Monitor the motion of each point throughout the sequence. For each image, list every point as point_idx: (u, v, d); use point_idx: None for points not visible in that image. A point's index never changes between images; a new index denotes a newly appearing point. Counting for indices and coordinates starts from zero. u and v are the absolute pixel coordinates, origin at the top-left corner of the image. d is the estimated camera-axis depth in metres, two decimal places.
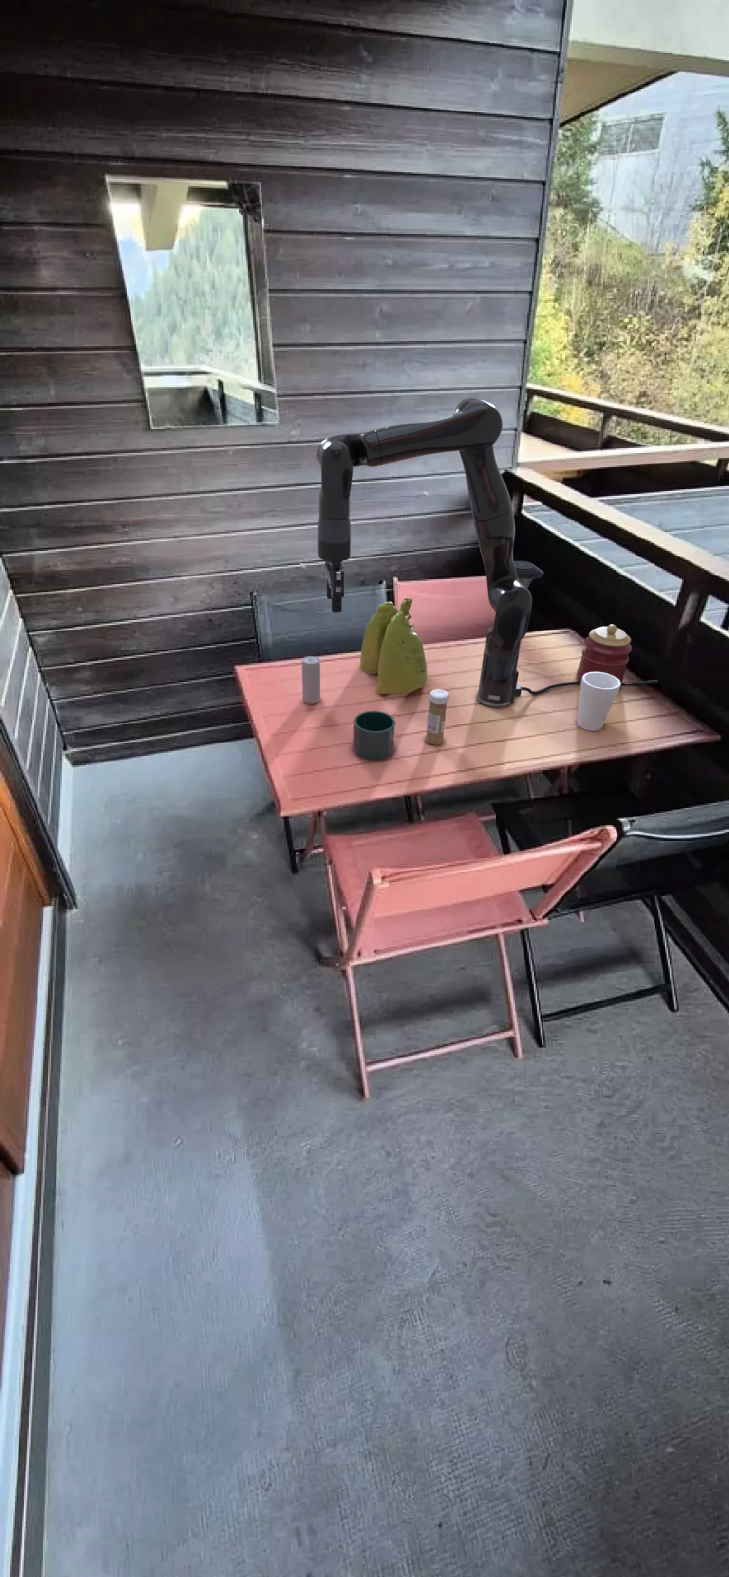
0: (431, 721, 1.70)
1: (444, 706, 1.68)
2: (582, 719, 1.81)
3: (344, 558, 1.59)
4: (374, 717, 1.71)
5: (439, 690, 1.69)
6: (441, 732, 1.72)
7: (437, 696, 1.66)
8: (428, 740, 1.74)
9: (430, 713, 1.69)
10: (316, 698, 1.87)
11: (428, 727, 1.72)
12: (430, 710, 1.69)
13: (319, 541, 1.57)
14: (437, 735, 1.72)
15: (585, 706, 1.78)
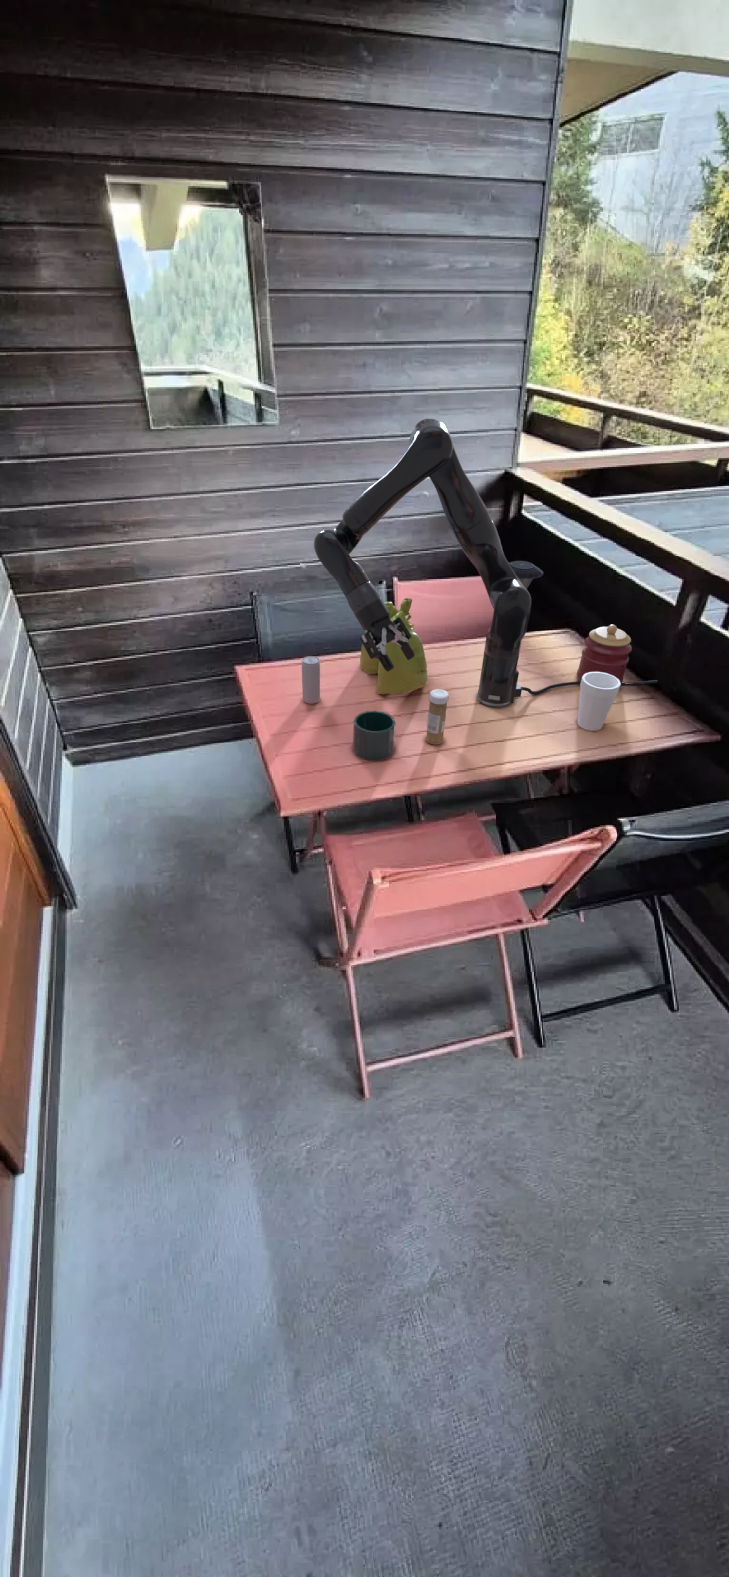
0: (431, 721, 1.70)
1: (444, 706, 1.68)
2: (582, 719, 1.81)
3: (372, 620, 1.66)
4: (374, 717, 1.71)
5: (439, 690, 1.69)
6: (441, 732, 1.72)
7: (437, 696, 1.66)
8: (428, 740, 1.74)
9: (430, 713, 1.69)
10: (316, 698, 1.87)
11: (428, 727, 1.72)
12: (430, 710, 1.69)
13: None
14: (437, 735, 1.72)
15: (585, 706, 1.78)
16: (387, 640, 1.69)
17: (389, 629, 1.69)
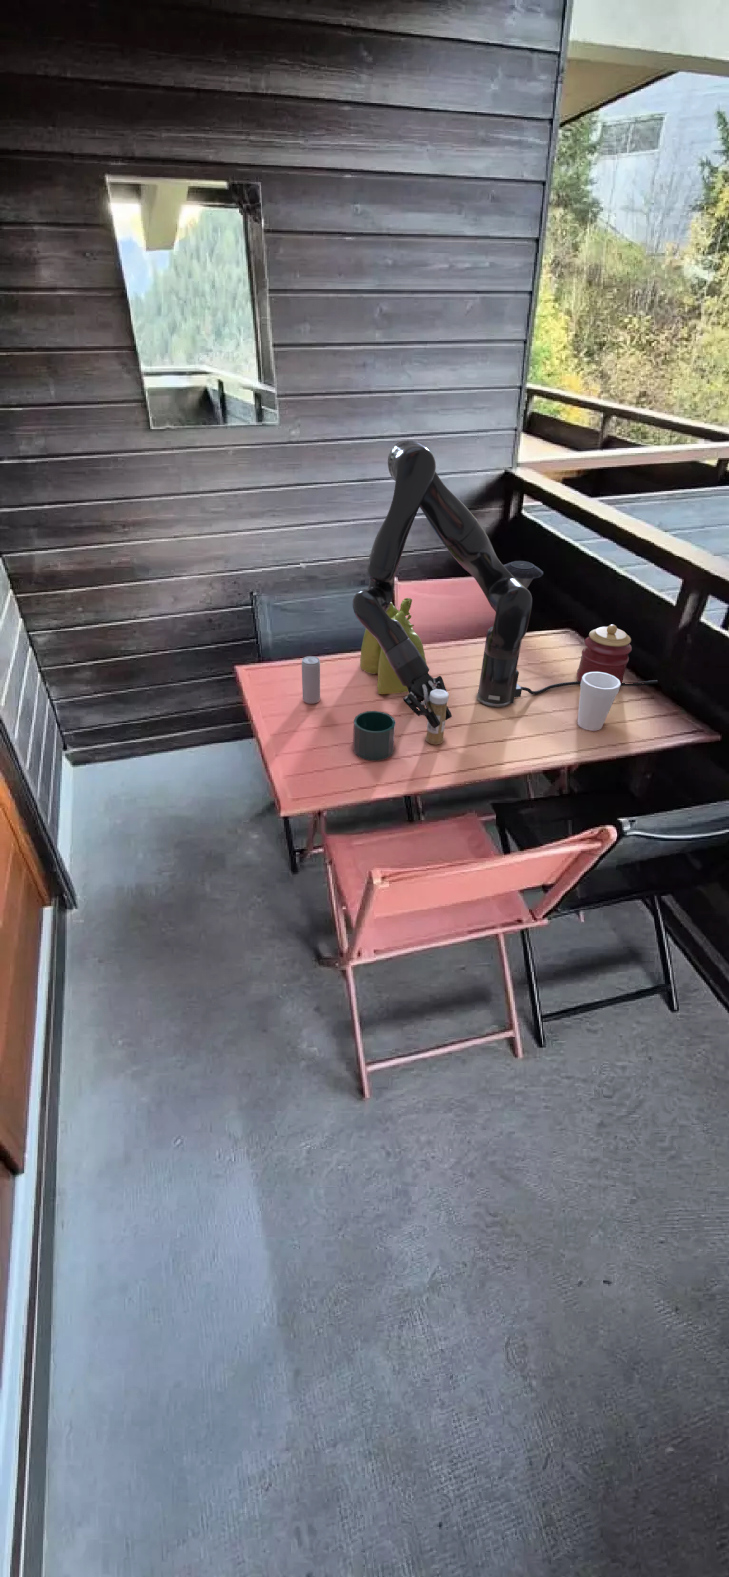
0: None
1: (444, 706, 1.68)
2: (582, 719, 1.81)
3: (412, 677, 1.66)
4: (374, 717, 1.71)
5: (439, 690, 1.69)
6: (441, 732, 1.72)
7: (437, 696, 1.66)
8: (428, 740, 1.74)
9: None
10: (316, 698, 1.87)
11: (428, 727, 1.72)
12: None
13: None
14: (437, 735, 1.72)
15: (585, 706, 1.78)
16: None
17: (428, 685, 1.69)
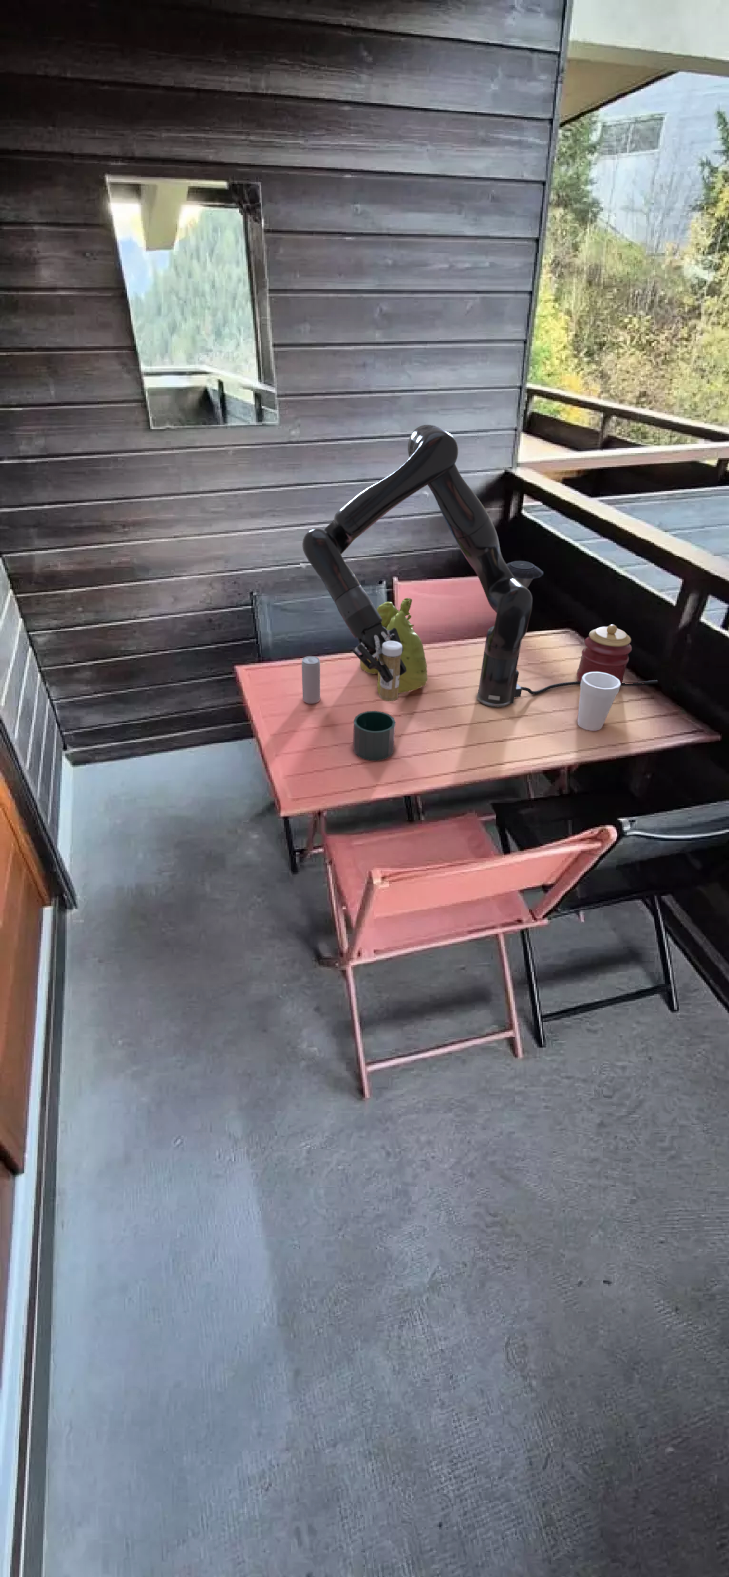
0: None
1: (397, 659, 1.56)
2: (582, 719, 1.81)
3: (362, 627, 1.55)
4: (374, 717, 1.71)
5: (392, 642, 1.57)
6: (395, 688, 1.60)
7: (390, 647, 1.54)
8: (381, 697, 1.62)
9: None
10: (316, 698, 1.87)
11: (381, 682, 1.60)
12: None
13: None
14: (391, 691, 1.60)
15: (585, 706, 1.78)
16: None
17: (381, 636, 1.58)
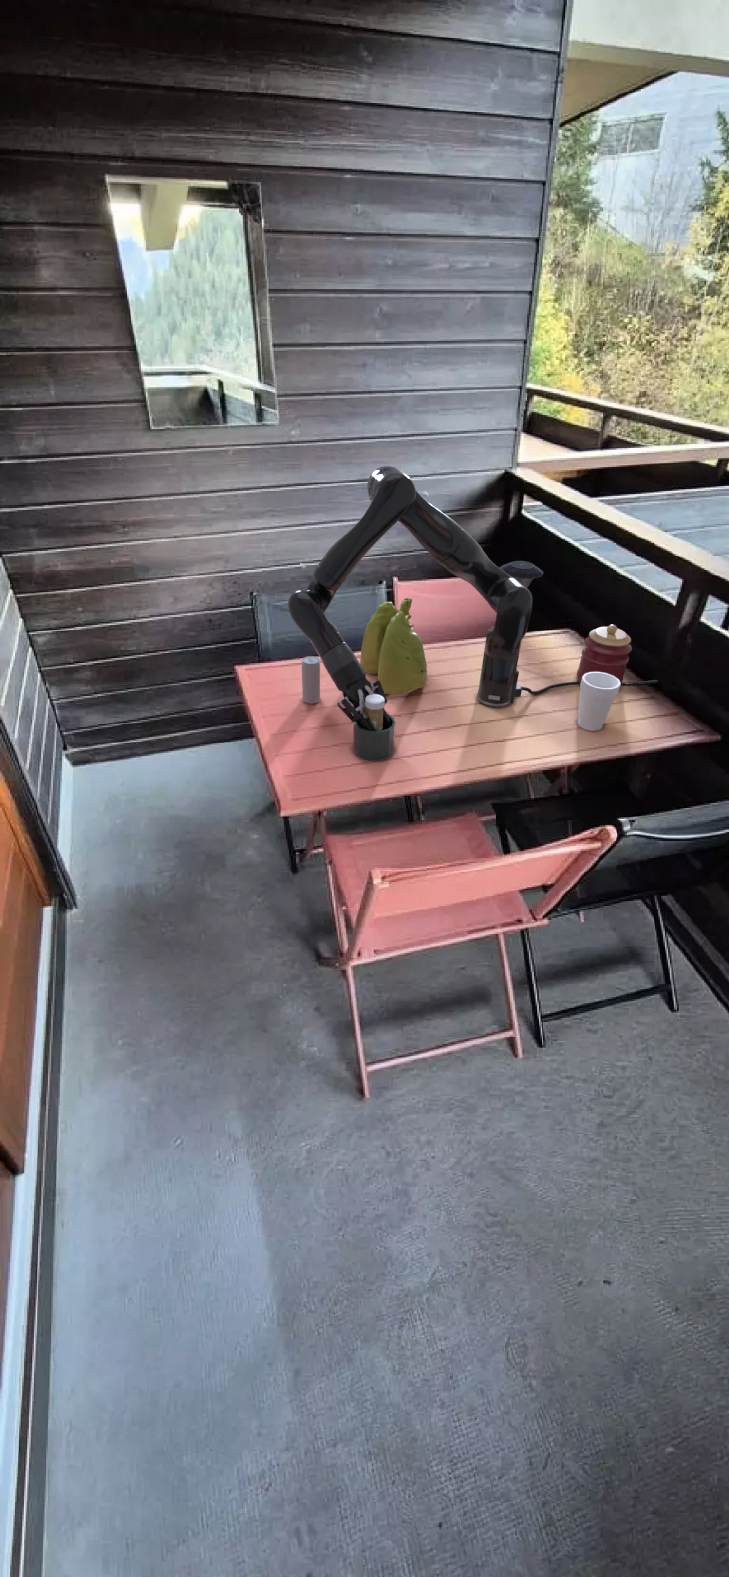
0: None
1: (380, 711, 1.63)
2: (582, 719, 1.81)
3: (347, 682, 1.62)
4: None
5: (375, 695, 1.64)
6: None
7: (372, 701, 1.61)
8: None
9: None
10: (316, 698, 1.87)
11: None
12: None
13: None
14: None
15: (585, 706, 1.78)
16: None
17: (365, 690, 1.65)
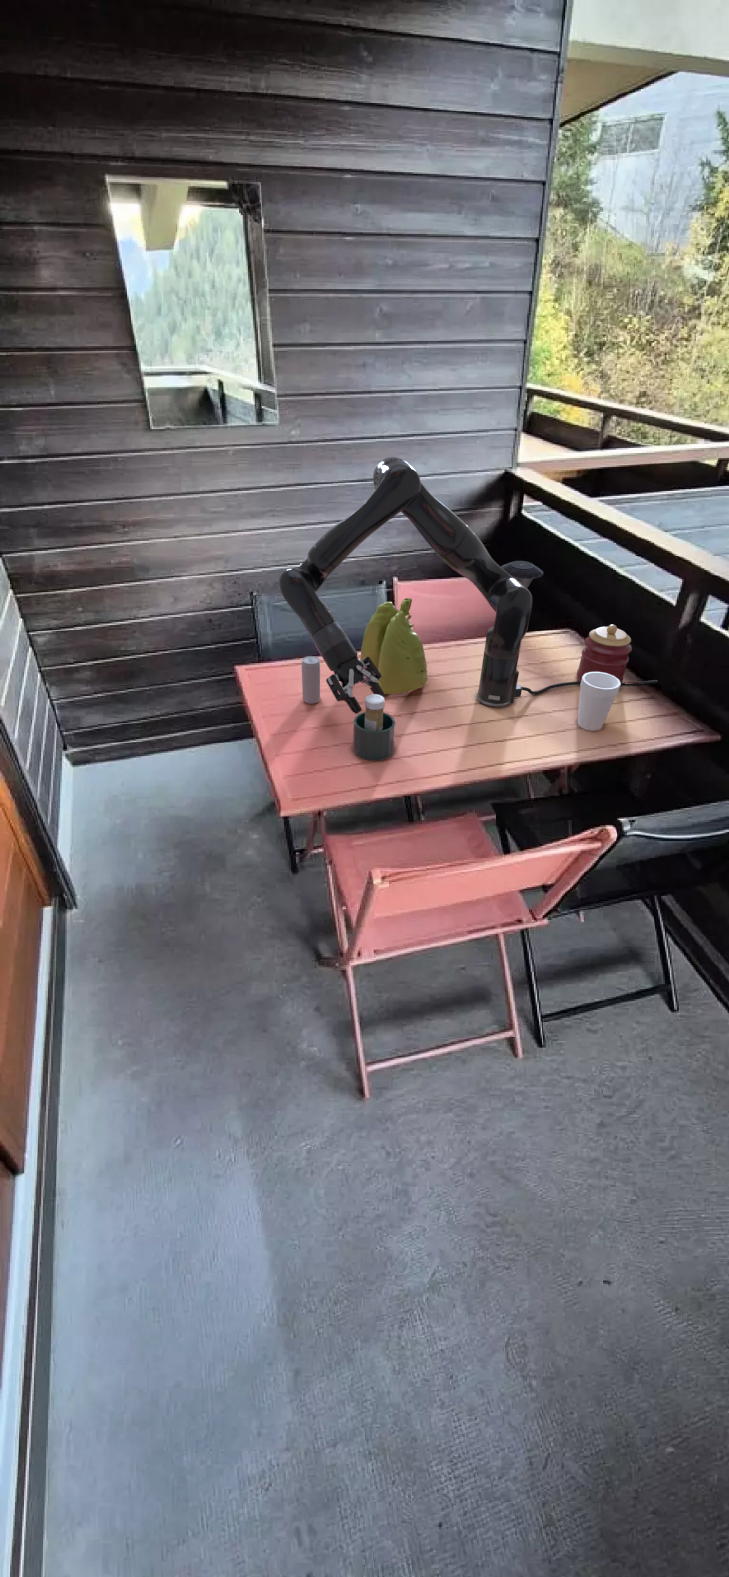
0: (367, 727, 1.66)
1: (380, 711, 1.63)
2: (582, 719, 1.81)
3: (338, 662, 1.60)
4: None
5: (375, 695, 1.64)
6: None
7: (372, 701, 1.61)
8: None
9: (366, 719, 1.65)
10: (316, 698, 1.87)
11: None
12: (366, 716, 1.65)
13: None
14: None
15: (585, 706, 1.78)
16: (355, 681, 1.63)
17: (357, 670, 1.63)
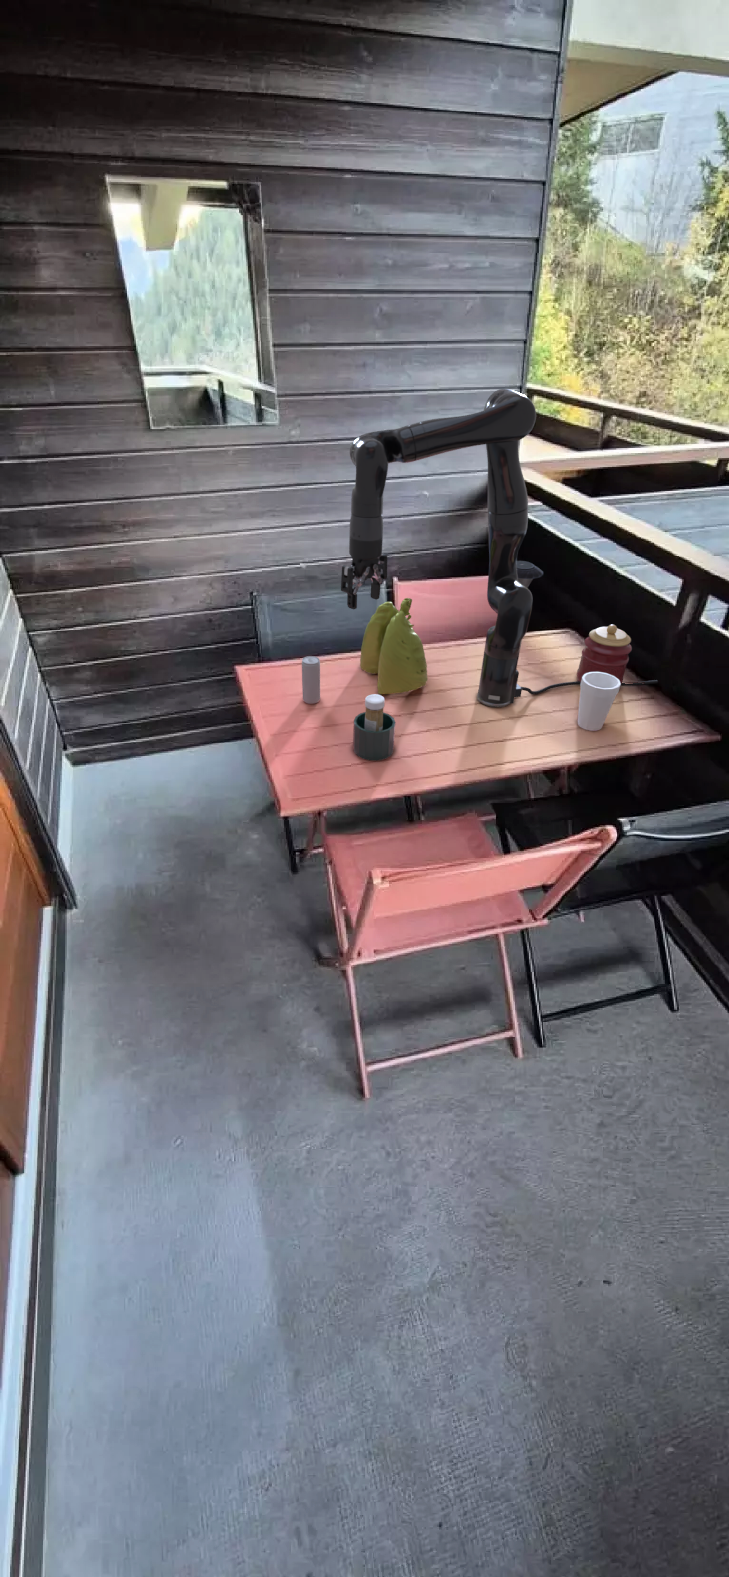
0: (367, 727, 1.66)
1: (380, 711, 1.63)
2: (582, 719, 1.81)
3: (362, 557, 1.57)
4: None
5: (375, 695, 1.64)
6: None
7: (372, 701, 1.61)
8: None
9: (366, 719, 1.65)
10: (316, 698, 1.87)
11: None
12: (366, 716, 1.65)
13: None
14: None
15: (585, 706, 1.78)
16: (364, 579, 1.62)
17: (372, 568, 1.62)
